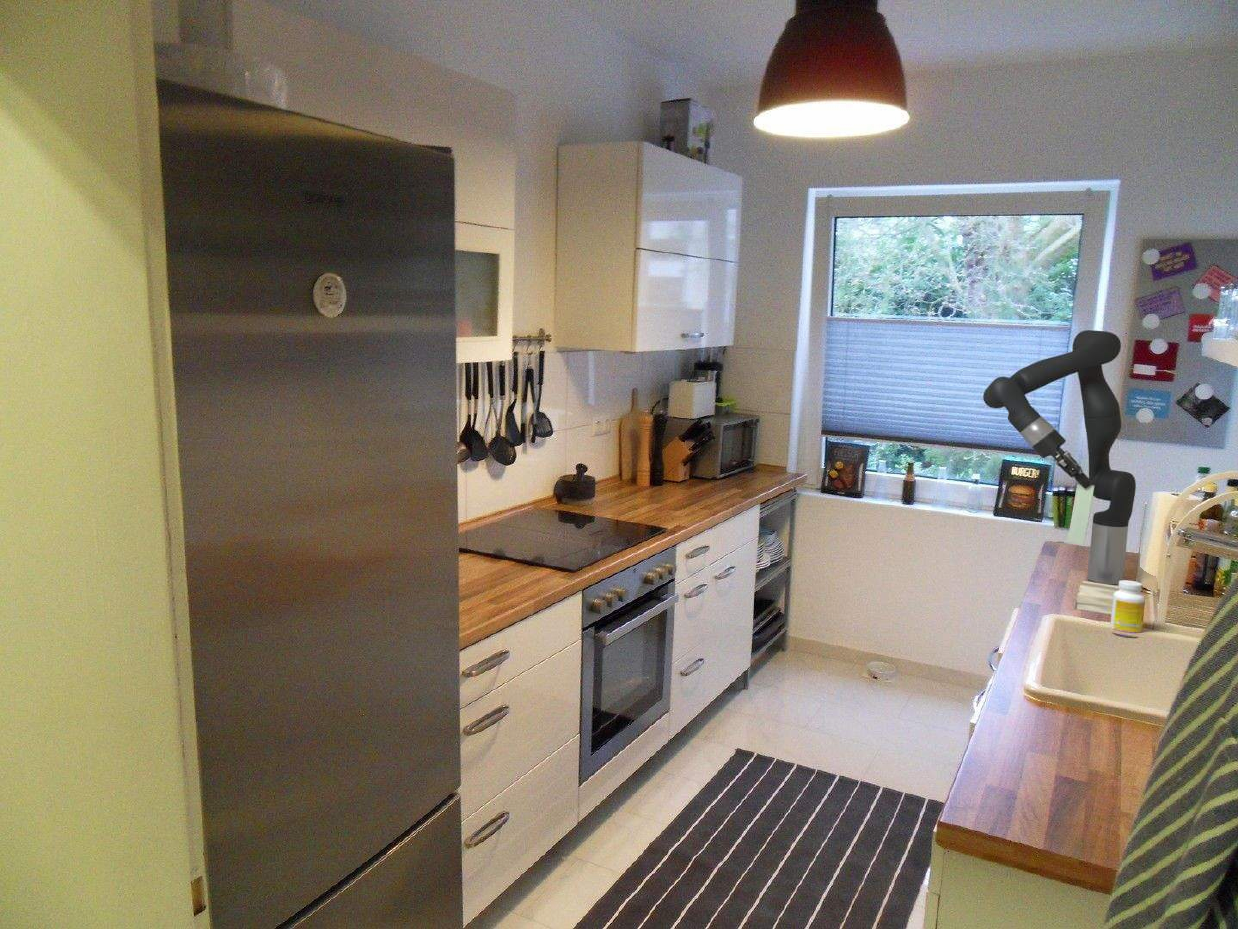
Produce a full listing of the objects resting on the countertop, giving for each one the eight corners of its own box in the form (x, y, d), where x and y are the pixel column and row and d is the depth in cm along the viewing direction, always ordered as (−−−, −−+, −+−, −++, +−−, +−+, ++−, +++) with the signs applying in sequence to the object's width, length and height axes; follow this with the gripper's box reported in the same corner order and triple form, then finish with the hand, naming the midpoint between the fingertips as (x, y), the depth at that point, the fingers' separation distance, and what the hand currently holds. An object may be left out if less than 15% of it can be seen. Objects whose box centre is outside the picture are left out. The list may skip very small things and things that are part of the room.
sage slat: (1068, 540, 237) (1077, 483, 234) (1084, 543, 235) (1094, 485, 232) (1067, 541, 235) (1077, 484, 233) (1083, 544, 233) (1094, 486, 231)
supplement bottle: (1145, 640, 204) (1151, 587, 203) (1115, 638, 206) (1120, 585, 204) (1135, 631, 211) (1140, 580, 209) (1105, 629, 212) (1110, 578, 211)
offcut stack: (1077, 602, 230) (1079, 580, 229) (1118, 608, 225) (1120, 586, 224) (1074, 609, 223) (1076, 586, 223) (1117, 615, 218) (1119, 592, 218)
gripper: (1051, 429, 229) (1099, 480, 225) (1056, 426, 241) (1102, 474, 236) (1027, 448, 233) (1074, 498, 228) (1034, 444, 245) (1079, 491, 240)
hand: (1088, 485), depth 232 cm, fingers closed on sage slat, 2 cm apart
